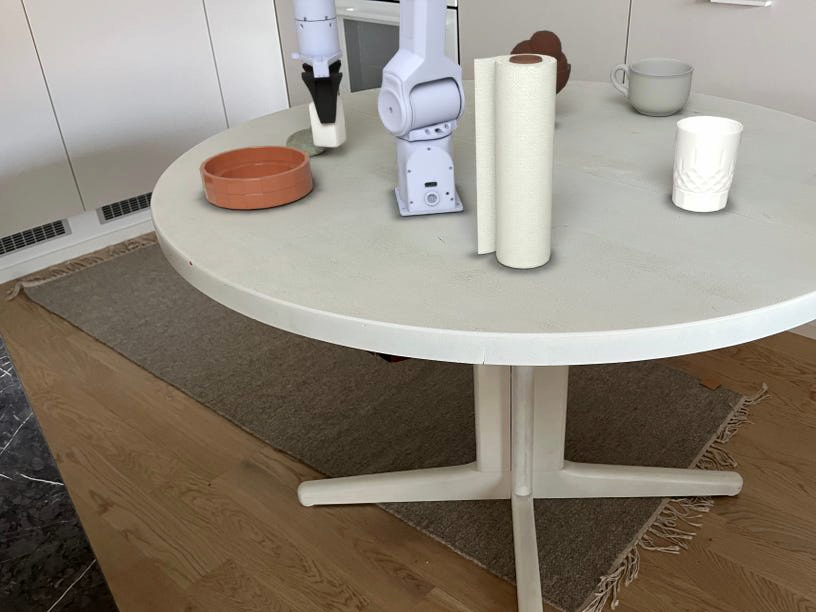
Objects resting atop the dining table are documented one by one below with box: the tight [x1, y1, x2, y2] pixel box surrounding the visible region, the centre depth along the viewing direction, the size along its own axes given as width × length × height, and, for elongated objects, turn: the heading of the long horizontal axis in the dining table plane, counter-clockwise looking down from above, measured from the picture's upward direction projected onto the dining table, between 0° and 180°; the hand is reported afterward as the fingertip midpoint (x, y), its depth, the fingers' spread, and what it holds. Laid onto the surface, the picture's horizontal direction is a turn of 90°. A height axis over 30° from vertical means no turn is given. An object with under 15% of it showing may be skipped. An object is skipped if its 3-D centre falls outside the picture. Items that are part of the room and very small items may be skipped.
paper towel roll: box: [473, 54, 557, 269], centre depth 83 cm, size 7×6×21 cm
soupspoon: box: [285, 125, 327, 157], centre depth 129 cm, size 22×3×7 cm
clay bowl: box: [198, 145, 314, 210], centre depth 107 cm, size 14×14×4 cm
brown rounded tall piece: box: [509, 29, 572, 95], centre depth 128 cm, size 11×11×15 cm
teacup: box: [609, 57, 695, 117], centre depth 136 cm, size 14×11×8 cm
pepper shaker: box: [308, 98, 348, 148], centre depth 115 cm, size 4×4×10 cm
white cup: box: [671, 115, 744, 213], centre depth 99 cm, size 8×8×10 cm
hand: (327, 117), depth 116 cm, fingers closed on pepper shaker, 5 cm apart
